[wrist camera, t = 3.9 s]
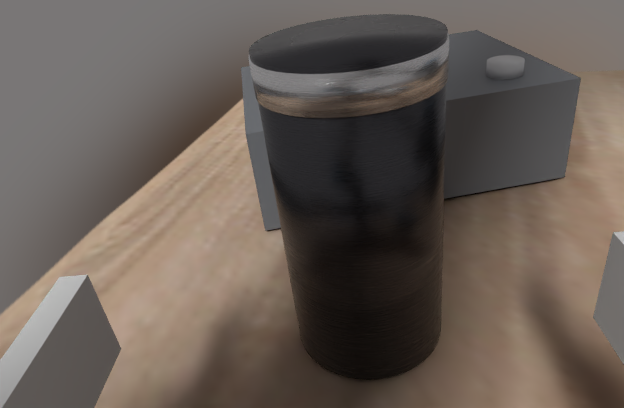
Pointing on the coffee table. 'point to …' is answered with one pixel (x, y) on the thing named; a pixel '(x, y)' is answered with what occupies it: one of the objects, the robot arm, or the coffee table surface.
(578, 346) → the coffee table surface
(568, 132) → the camera body
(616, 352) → the robot arm
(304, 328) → the lens
